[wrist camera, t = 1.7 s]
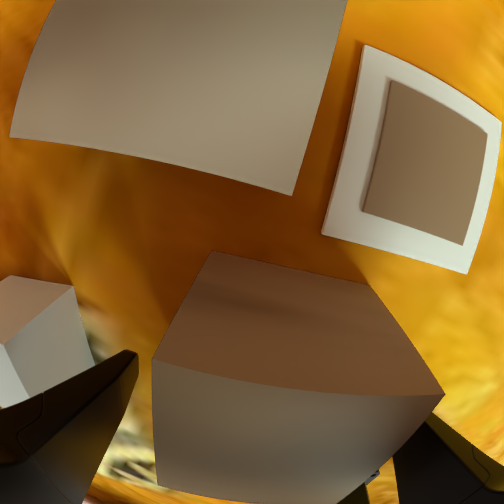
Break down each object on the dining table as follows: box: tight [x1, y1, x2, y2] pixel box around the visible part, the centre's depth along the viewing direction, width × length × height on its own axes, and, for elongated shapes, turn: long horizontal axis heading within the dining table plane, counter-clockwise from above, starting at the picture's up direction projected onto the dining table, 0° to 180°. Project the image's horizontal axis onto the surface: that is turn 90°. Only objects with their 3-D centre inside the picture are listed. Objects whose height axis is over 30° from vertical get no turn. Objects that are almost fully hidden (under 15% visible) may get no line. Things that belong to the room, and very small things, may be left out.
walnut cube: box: [152, 250, 445, 504], centre depth 8 cm, size 6×6×6 cm
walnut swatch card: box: [321, 45, 502, 274], centre depth 8 cm, size 7×7×1 cm
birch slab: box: [9, 0, 347, 196], centre depth 6 cm, size 8×8×4 cm
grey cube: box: [0, 275, 95, 408], centre depth 9 cm, size 5×5×5 cm
